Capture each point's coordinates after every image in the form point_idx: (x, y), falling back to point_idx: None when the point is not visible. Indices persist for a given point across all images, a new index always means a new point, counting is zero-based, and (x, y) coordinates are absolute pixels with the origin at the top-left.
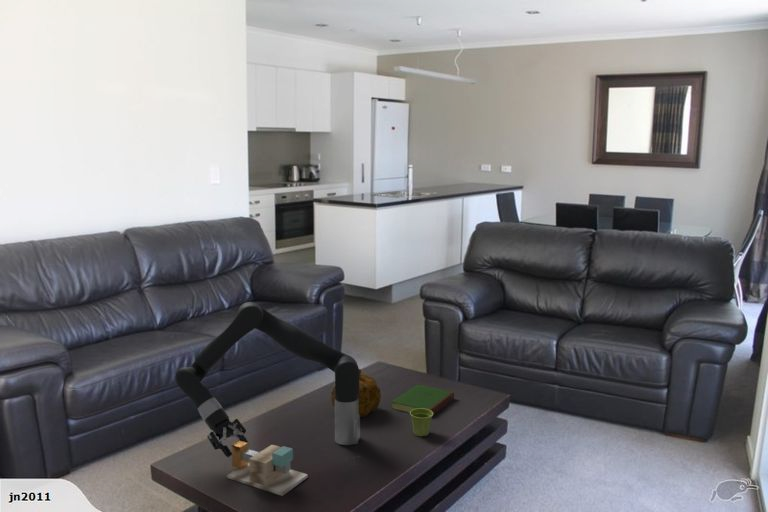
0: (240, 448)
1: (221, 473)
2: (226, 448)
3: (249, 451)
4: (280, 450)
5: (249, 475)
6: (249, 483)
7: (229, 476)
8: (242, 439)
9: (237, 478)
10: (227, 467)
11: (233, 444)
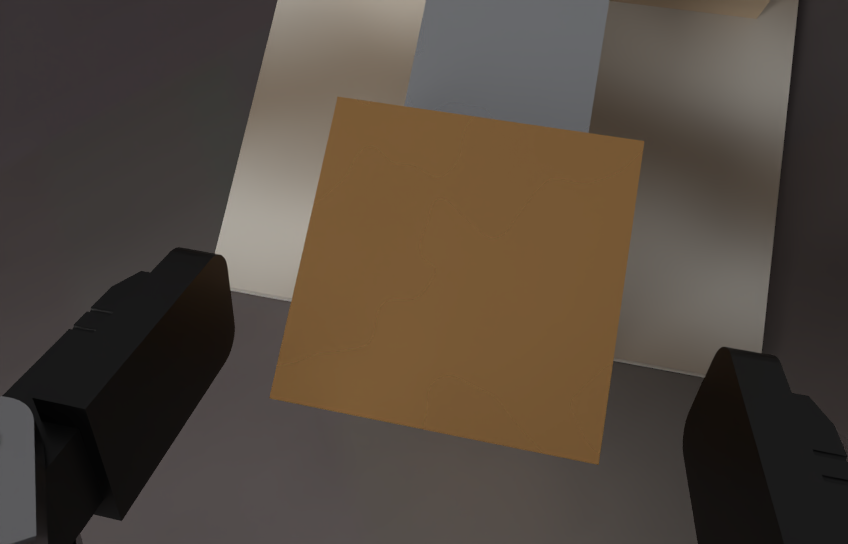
0: (627, 153)
1: (665, 525)
2: (824, 503)
3: (485, 50)
4: None
5: (643, 92)
6: (793, 9)
7: (759, 334)
8: (136, 390)
9: (775, 193)
10: (487, 536)
11: (550, 423)
